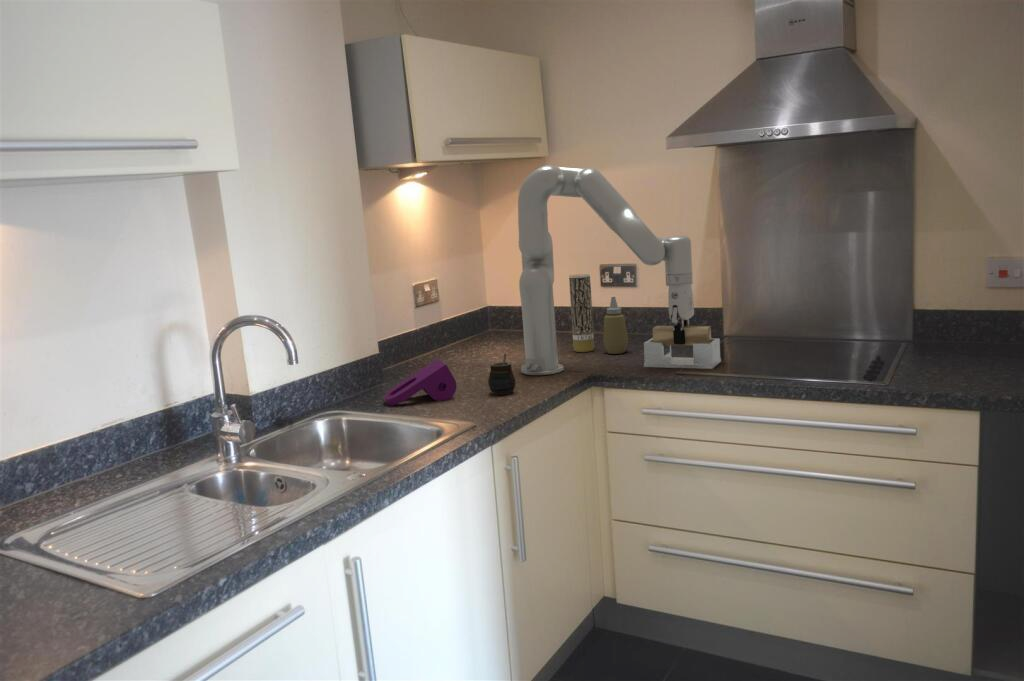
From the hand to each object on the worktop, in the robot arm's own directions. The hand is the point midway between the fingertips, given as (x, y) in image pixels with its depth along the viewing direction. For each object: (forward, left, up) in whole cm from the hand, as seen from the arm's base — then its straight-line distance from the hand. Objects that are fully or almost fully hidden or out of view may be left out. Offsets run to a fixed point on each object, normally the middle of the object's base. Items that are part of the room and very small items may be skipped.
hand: (682, 341), depth 245 cm
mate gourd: (-42, +37, -7) cm, 57 cm away
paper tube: (+17, +38, -7) cm, 42 cm away
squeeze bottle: (+15, +26, -7) cm, 31 cm away
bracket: (0, 0, -7) cm, 7 cm away
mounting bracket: (-53, +57, -7) cm, 78 cm away
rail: (0, 0, -1) cm, 1 cm away
